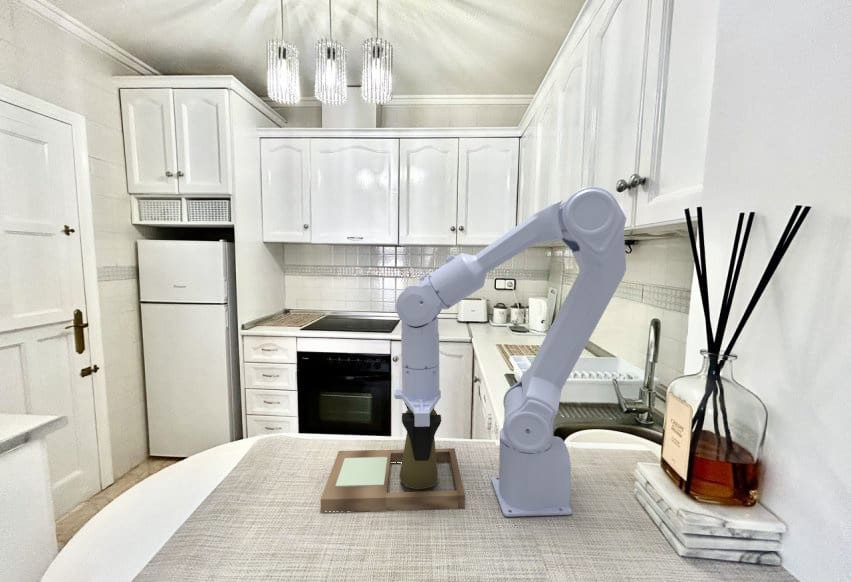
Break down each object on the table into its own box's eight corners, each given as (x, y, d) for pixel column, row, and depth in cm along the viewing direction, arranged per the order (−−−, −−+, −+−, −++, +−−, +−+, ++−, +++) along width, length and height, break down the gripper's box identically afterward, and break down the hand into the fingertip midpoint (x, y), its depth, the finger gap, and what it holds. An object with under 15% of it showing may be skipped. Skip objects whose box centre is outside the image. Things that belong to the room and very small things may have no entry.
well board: (454, 459, 61) (454, 447, 60) (464, 508, 49) (464, 493, 49) (339, 462, 60) (338, 449, 60) (320, 512, 48) (320, 498, 48)
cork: (435, 491, 51) (438, 419, 50) (395, 485, 52) (397, 414, 51) (440, 467, 57) (443, 402, 56) (403, 462, 58) (406, 398, 57)
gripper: (396, 351, 60) (397, 426, 61) (391, 381, 45) (392, 479, 47) (437, 350, 60) (437, 425, 61) (445, 380, 45) (445, 477, 47)
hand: (421, 449), depth 54 cm, fingers closed on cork, 5 cm apart
